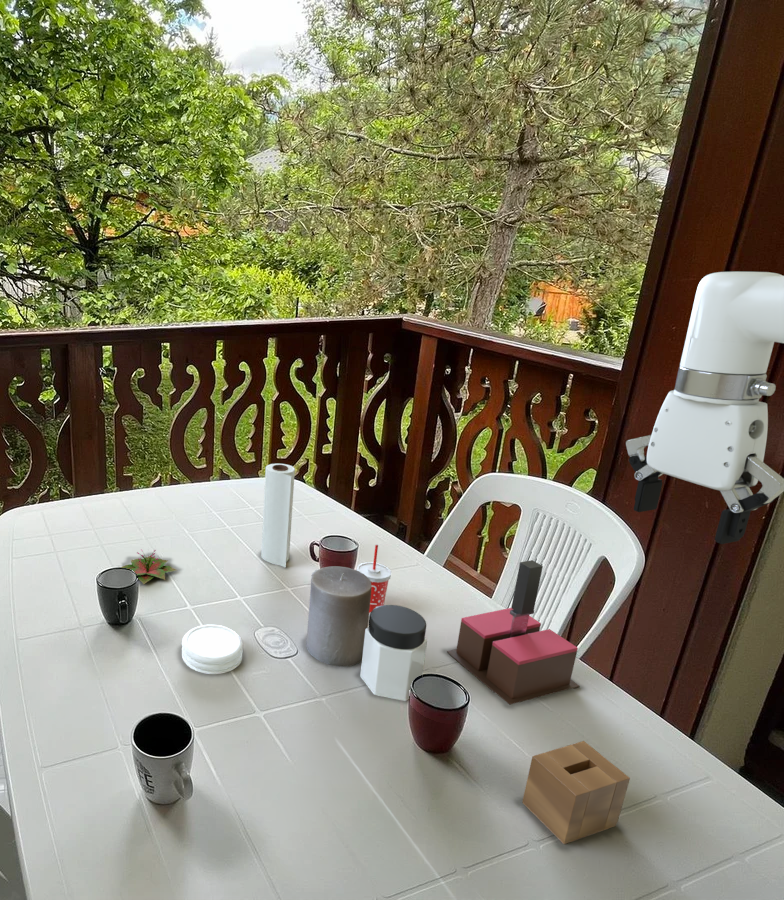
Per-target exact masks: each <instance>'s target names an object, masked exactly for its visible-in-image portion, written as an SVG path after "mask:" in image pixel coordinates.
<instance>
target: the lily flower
mask: <svg viewBox="0 0 784 900" xmlns="http://www.w3.org/2000/svg"><path fill="white" fill-rule="evenodd" d="M149 549H150V548H148V549H147V550H148V551H149ZM140 551H141V552H142V553H144V551H143V549H140ZM148 551H147V552H148ZM156 551H157V549H154V550H153V552H152V553H151V555H149V554H147V555H145V554H141V553H139V552H138V551H137V552H136V554H138V555H139V556H141V557H142V558H141V557H138V558H134V559H130V563H129V564H125V565H123V566H121V567H120V568H127V569H131V570H133V571H134V572H135V573H136V574H137V575H136V577H137V576H138V578H137V579H138V580H139V581H140V583H142V585H145V584H146V583H148V582H150V581H151V580H152V579H154V578H158V579H162V580H164V581H166V573H171V572H174V571H177V569H176V568H174V567H172V566H171V565H166V563H168V562H169V560H167V559H162V558H158V557H157V558H156V556H155V554H156Z"/></svg>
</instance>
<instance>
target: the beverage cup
mask: <svg viewBox="0 0 784 900" xmlns="http://www.w3.org/2000/svg"><path fill="white" fill-rule="evenodd" d="M378 549H379V545H378V544H375V546H374V553H373V561H365V562H361V563H359V564H358V565H357V566H356V570H357V571H359V572H361V573H363V574H364V575H366V576H367V577H368V578H369V579H370V581H371V585H372V588H371V600H370V609H369V617H370V613H371V611H372V610H373V609H374V608H376V607H379V606H383V605H385V601H386V597H387V591H388V585H389V580H391V576H392V570H391V568H390V567H388V566H386V565H384V564H382V563H378V562H377V559H378Z"/></svg>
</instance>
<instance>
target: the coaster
mask: <svg viewBox="0 0 784 900" xmlns="http://www.w3.org/2000/svg"><path fill="white" fill-rule="evenodd" d="M243 648H244V644H243V640H242V638H241V636H240V635H239V634H238V633H237V632H236V631H234V630H233V629H231V628H229V627H227V626H224V625H220V624H203V625H198V626H196V627H193V628H191V629H190V630H188V631H187V632H186V633H185V634H184V635H183V637H182V640H181V657H182V661H183V663H184V664H185V665H186V666H187V667H189V668H190V669H191V670H193V671H195V672H198V673H201V674H207V675H220V674H226V673H228V672H231V671H233V670H234V669H236V668H237V667H239V666H240V664H241V663H242V661H243V654H244V653H243V651H244V650H243Z"/></svg>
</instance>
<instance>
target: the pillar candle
mask: <svg viewBox="0 0 784 900" xmlns="http://www.w3.org/2000/svg"><path fill="white" fill-rule="evenodd" d="M371 588H372V585H371V581H370V579H369V578H368V577H367V576H366V575H364V574H363V573H361V572H359V571H357V569H354V568H350V567H347V566H338V565H337V566H336V565H334V566H333V565H332V566H325V567H321V568H318V569H316V570H314V571H313V572H312V573H311V576H310V592H309V606H308V614H307V615H308V617H307V629H306V631H307V633H306V650H307V651H308V653H309V654H310V655H311V656H312V658H314V659H316V661H319V662H321V663H323V664H327V665H330V666H335V667H352V666H355V665H357V664H360V662H362V656H363V646H364V637H365V629H366V628H368V627H369V617H370V616H369V609H370V600H371Z"/></svg>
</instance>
